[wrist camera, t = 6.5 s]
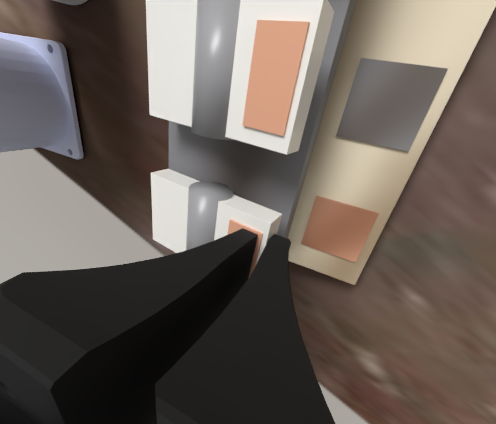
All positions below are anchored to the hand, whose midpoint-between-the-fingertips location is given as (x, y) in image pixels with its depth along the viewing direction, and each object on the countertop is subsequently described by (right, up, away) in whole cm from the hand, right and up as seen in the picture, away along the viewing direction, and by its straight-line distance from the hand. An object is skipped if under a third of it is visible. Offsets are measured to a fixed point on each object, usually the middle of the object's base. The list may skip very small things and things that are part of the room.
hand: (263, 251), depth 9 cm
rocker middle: (-2, +6, -2) cm, 7 cm away
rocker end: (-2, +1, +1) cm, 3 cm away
